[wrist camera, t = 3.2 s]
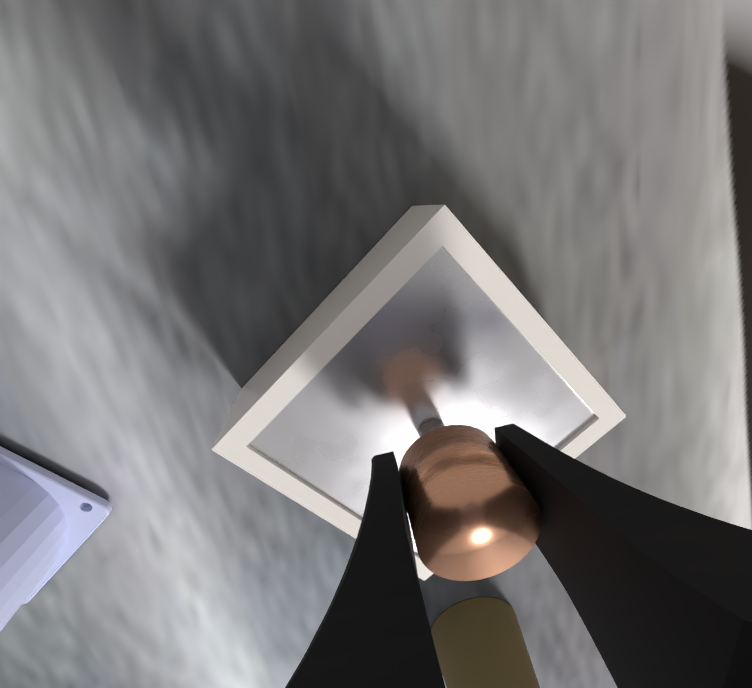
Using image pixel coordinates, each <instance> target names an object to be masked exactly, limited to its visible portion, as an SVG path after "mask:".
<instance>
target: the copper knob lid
mask: <svg viewBox="0 0 752 688" xmlns="http://www.w3.org/2000/svg"><path fill="white" fill-rule="evenodd" d="M595 417H596V415H595V414H594V413H593V412H592V411H591V410H590V409H589V408H588V406H587V405H586V404H585V403H584V402H583V401H582V400H581V399H580V398H579V397H578V395H577V394H576V393H575V392H574V391H573V390H572V389H571V388H570V387H569V386H568V384H567V383H566V382H565V381H564V380H563V379H562V378H561V377H560V376H559V375H558V373H557V372H556V371H555V370H554V369H553V368H552V367H551V366H550V365H549V363H548V362H547V361H546V360H545V359H544V358H543V357H542V356H541V355H540V354H539V352H538V351H537V350H536V349H535V348H534V347H533V346H532V345H531V344H530V343H529V341H528V340H527V339H526V338H525V337H524V336H523V335H522V334H521V333H520V332H519V330H518V329H517V328H516V327H515V326H514V325H513V324H512V323H511V322H510V320H509V319H508V318H507V317H506V316H505V315H504V314H503V313H502V312H501V311H500V309H499V308H498V307H497V306H496V305H495V304H494V303H493V302H492V301H491V300H490V298H489V297H488V296H487V295H486V294H485V293H484V292H483V291H482V290H481V289H480V287H479V286H478V285H477V284H476V283H475V282H474V281H473V280H472V279H471V277H470V276H469V275H468V274H467V273H466V272H465V271H464V270H463V269H462V268H461V266H460V265H459V264H458V263H457V262H456V261H455V260H454V259H453V258H452V257H451V255H450V254H449V253H448V252H447V251H446V250H445V249H444V248H443V247H441V248H440V249H439V250H438V251H437V252H436V253H435V254H434V255H433V256H432V257H431V258H430V259H429V260H428V261H427V262H426V263H425V264H424V265H423V266H422V267H421V268H420V269H419V270H418V271H417V272H416V273H415V274H414V275H413V276H412V277H411V278H410V279H409V280H408V281H407V282H406V283H405V284H404V285H403V287H402V288H401V289H400V290H399V291H398V292H397V293H396V294H395V295H394V296H393V297H392V298H391V299H390V300H389V301H388V302H387V303H386V304H385V305H384V306H383V307H382V308H381V309H380V310H379V311H378V312H377V313H376V314H375V315H374V316H373V317H372V318H371V319H370V320H369V321H368V322H367V323H366V324H365V325H364V326H363V327H362V329H361V330H360V331H359V332H358V333H357V334H356V335H355V336H354V337H353V338H352V339H351V340H350V341H349V342H348V343H347V344H346V345H345V346H344V347H343V348H342V349H341V350H340V351H339V352H338V353H337V354H336V355H335V356H334V357H333V358H332V359H331V360H330V361H329V362H328V363H327V364H326V365H325V366H324V367H323V368H322V369H321V371H320V372H319V373H318V374H317V375H316V376H315V377H314V378H313V379H312V380H311V381H310V382H309V383H308V384H307V385H306V386H305V387H304V388H303V389H302V390H301V391H300V392H299V393H298V394H297V395H296V396H295V397H294V398H293V399H292V400H291V401H290V402H289V403H288V404H287V405H286V406H285V407H284V408H283V409H282V410H281V411H280V413H279V414H278V415H277V416H276V417H275V418H274V419H273V420H272V421H271V422H270V423H269V424H268V425H267V426H266V427H265V428H264V429H263V430H262V431H261V432H260V433H259V434H258V435H257V436H256V437H255V438H254V439H253V440H252V441H251V442H250V443H249V444H248V445H249V446H251V447H252V448H254V449H255V450H257V451H258V452H260V453H261V454H263V455H265V456H266V457H268V458H269V459H271V460H272V461H274V462H275V463H277V464H278V465H280V466H282V467H283V468H285V469H286V470H288V471H289V472H291V473H292V474H294V475H295V476H297V477H299V478H300V479H302V480H303V481H305V482H306V483H308V484H309V485H311V486H312V487H314V488H316V489H317V490H319V491H320V492H322V493H323V494H325V495H326V496H328V497H329V498H331V499H333V500H334V501H336V502H337V503H339V504H340V505H342V506H343V507H345V508H346V509H348V510H350V511H351V512H353V513H354V514H356V515H357V516H359V517H360V518H362V517H363V514H364V510H365V505H366V500H367V496H368V491H369V485H370V478H371V467H372V462H371V459H372V458H373V457H374V456H375V455H379V454H383V453H388V452H392V451H393V452H394V455H395V458H396V462H397V465H398V469H399V474H400V479H401V484H402V489H403V494H404V500H405V505H406V509H407V514H408V519H409V524H410V529H411V534H412V540H413V547H414V553H416V554H418V555H419V558H420V560H421V561H422V563H423V564H424V565H425V567H426V568H427V569H428V570H430V571H431V572H433V573H434V574H436V575H438V576H440V577H443V578H446V579H450V580H456V581H474V580H480V579H484V578H488V577H491V576H494V575H497V574H499V573H501V572H503V571H505V570H507V569H509V568H510V567H512V566H513V565H515V564H516V563H518V562H519V561H520V560H521V559H522V558H523V557H524V556H525V555H526V554H527V553H528V552H529V551H530V550H531V548H532V547H533V546H534V544H535V542H536V541H537V538H538V536H539V534H540V530H541V525H542V514H541V510H540V507H539V505H538V503H537V502H536V500H535V499H534V497H533V496H532V494H531V493H530V492H529V490H528V489H527V487H526V486H525V485H524V483H523V482H522V480H521V479H520V478H519V476H518V475H517V473H516V472H515V471H514V469H513V468H512V466H511V465H510V463H509V462H508V461H507V459H506V458H505V456H504V455H503V454H502V452H501V451H500V449H499V448H498V447H497V445H496V444H495V430H494V428H495V427H499V426H504V425H508V424H512V423H513V424H515V425H517V426H519V427H520V428H522V429H524V430H525V431H527V432H529V433H531V434H532V435H534V436H536V437H537V438H539V439H541V440H542V441H544V442H546V443H547V444H549V445H551V446H553V447H554V448H556V449H558V448H559V447H560V446H561V445H563V444H564V443H565V442H566V441H567V440H569V439H570V438H571V437H572V436H573V435H575V434H576V433H577V432H578V431H579V430H581V429H582V428H583V427H584V426H586V425H587V424H588V423H589V422H590V421H592V420H593V419H594V418H595Z"/></svg>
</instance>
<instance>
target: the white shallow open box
mask: <svg viewBox="0 0 752 688" xmlns="http://www.w3.org/2000/svg"><path fill="white" fill-rule="evenodd" d="M441 247H443V248H444V249H445V250H446V251H447V252H448V253H449V254H450V255H451V257H452V258H453V259H454V260H455V261H456V262H457V263H458V264H459V265H460V266H461V268H462V269H463V270H464V271H465V272H466V273H467V274H468V275H469V276H470V277H471V279H472V280H473V281H474V282H475V283H476V284H477V285H478V286H479V287H480V289H481V290H482V291H483V292H484V293H485V294H486V295H487V296H488V297H489V298H490V300H491V301H492V302H493V303H494V304H495V305H496V306H497V307H498V308H499V309H500V311H501V312H502V313H503V314H504V315H505V316H506V317H507V318H508V319H509V320H510V322H511V323H512V324H513V325H514V326H515V327H516V328H517V329H518V330H519V332H520V333H521V334H522V335H523V336H524V337H525V338H526V339H527V340H528V341H529V343H530V344H531V345H532V346H533V347H534V348H535V349H536V350H537V351H538V352H539V354H540V355H541V356H542V357H543V358H544V359H545V360H546V361H547V362H548V363H549V365H550V366H551V367H552V368H553V369H554V370H555V371H556V372H557V373H558V375H559V376H560V377H561V378H562V379H563V380H564V381H565V382H566V383H567V384H568V386H569V387H570V388H571V389H572V390H573V391H574V392H575V393H576V394H577V395H578V397H579V398H580V399H581V400H582V401H583V402H584V403H585V404H586V405H587V406H588V408H589V409H590V410H591V411H592V412H593V413H594V414H595V415H596V417H595V418H594V419H593V420H592V421H590V422H589V423H588V424H587V425H586V426H584V427H583V428H582V429H581V430H579V431H578V432H577V433H576V434H575V435H573V436H572V437H571V438H570V439H569V440H567V441H566V442H565V443H564V444H563V445H561V446H560V447H559V448H558V450H560V451H561V452H563V453H565V454H567V455H568V456H570V457H572V458H574V459H575V458H576V457H577V456H579V455H580V454H581V453H582V452H583V451H585V450H586V449H587V448H588V447H590V446H591V445H592V444H593V443H594V442H596V441H597V440H598V439H599V438H601V437H602V436H603V435H604V434H606V433H607V432H608V431H609V430H610V429H612V428H613V427H614V426H615V425H617V424H618V423H619V422H620V421H622V420H623V419H624V418H625V417H626V415H625V414H624V413H623V412H622V411H621V409H620V408H619V407H618V406H617V405H616V404H615V402H614V401H613V400H612V399H611V398H610V397H609V395H608V394H607V393H606V392H605V391H604V390H603V388H602V387H601V386H600V385H599V384H598V383H597V381H596V380H595V379H594V378H593V377H592V376H591V374H590V373H589V372H588V371H587V370H586V369H585V367H584V366H583V365H582V364H581V363H580V362H579V360H578V359H577V358H576V357H575V356H574V355H573V353H572V352H571V351H570V350H569V349H568V348H567V346H566V345H565V344H564V343H563V342H562V341H561V339H560V338H559V337H558V336H557V335H556V334H555V332H554V331H553V330H552V329H551V328H550V327H549V325H548V324H547V323H546V322H545V321H544V320H543V318H542V317H541V316H540V315H539V314H538V313H537V311H536V310H535V309H534V308H533V307H532V306H531V304H530V303H529V302H528V301H527V300H526V299H525V297H524V296H523V295H522V294H521V293H520V292H519V290H518V289H517V288H516V287H515V286H514V285H513V283H512V282H511V281H510V280H509V279H508V278H507V276H506V275H505V274H504V273H503V272H502V271H501V269H500V268H499V267H498V266H497V265H496V264H495V263H494V261H493V260H492V259H491V258H490V257H489V256H488V254H487V253H486V252H485V251H484V250H483V249H482V247H481V246H480V245H479V244H478V243H477V242H476V240H475V239H474V238H473V237H472V236H471V235H470V233H469V232H468V231H467V230H466V229H465V228H464V226H463V225H462V224H461V223H460V222H459V221H458V219H457V218H456V217H455V216H454V215H453V214H452V212H451V211H450V210H449V209H448V208H447V207H446V205H422V206H411V207H410V208H409V210H408V211H407V212H406V213H405V214H404V215H403V216H402V217H401V218H400V219H399V220H398V221H397V222H396V223H395V225H394V226H393V227H392V228H391V229H390V230H389V231H388V232H387V233H386V234H385V235H384V236H383V237H382V238H381V240H380V241H379V242H378V243H377V244H376V245H375V246H374V247H373V248H372V249H371V250H370V251H369V252H368V253H367V255H366V256H365V257H364V258H363V259H362V260H361V261H360V262H359V263H358V264H357V265H356V266H355V267H354V268H353V270H352V271H351V272H350V273H349V274H348V275H347V276H346V277H345V278H344V279H343V280H342V281H341V282H340V283H339V285H338V286H337V287H336V288H335V289H334V290H333V291H332V292H331V293H330V294H329V295H328V296H327V297H326V298H325V300H324V301H323V302H322V303H321V304H320V305H319V306H318V307H317V308H316V309H315V310H314V311H313V312H312V314H311V315H310V316H309V317H308V318H307V319H306V320H305V321H304V322H303V323H302V324H301V325H300V326H299V327H298V329H297V330H296V331H295V332H294V333H293V334H292V335H291V336H290V337H289V338H288V339H287V340H286V341H285V342H284V344H283V345H282V346H281V347H280V348H279V349H278V350H277V351H276V352H275V353H274V354H273V355H272V356H271V357H270V359H269V360H268V361H267V362H266V363H265V364H264V365H263V366H262V367H261V368H260V369H259V370H258V371H257V372H256V374H255V375H254V376H253V377H252V378H251V379H250V380H249V381H248V382H247V383H246V384H245V385H244V386H243V387H242V389H241V390H240V392H239V394H238V396H237V398H236V400H235V402H234V404H233V407H232V409H231V411H230V413H229V415H228V417H227V419H226V421H225V423H224V425H223V427H222V429H221V431H220V433H219V435H218V437H217V439H216V441H215V443H214V445H213V447H212V449H211V450H213V451H214V452H216V453H218V454H219V455H221V456H222V457H224V458H226V459H227V460H229V461H231V462H232V463H234V464H235V465H237V466H239V467H240V468H242V469H244V470H245V471H247V472H248V473H250V474H252V475H253V476H255V477H257V478H258V479H260V480H261V481H263V482H265V483H266V484H268V485H269V486H271V487H273V488H274V489H276V490H278V491H279V492H281V493H282V494H284V495H286V496H287V497H289V498H291V499H292V500H294V501H295V502H297V503H299V504H300V505H302V506H304V507H305V508H307V509H308V510H310V511H312V512H313V513H315V514H316V515H318V516H320V517H321V518H323V519H325V520H326V521H328V522H329V523H331V524H333V525H334V526H336V527H338V528H339V529H341V530H342V531H344V532H346V533H347V534H349V535H351V536H352V537H354V538H355V539H356V538H357V535H358V531H359V528H360V524H361V521H362V518H360V517H359V516H357V515H356V514H354V513H353V512H351V511H350V510H348V509H346V508H345V507H343V506H342V505H340V504H339V503H337V502H336V501H334V500H333V499H331V498H329V497H328V496H326V495H325V494H323V493H322V492H320V491H319V490H317V489H316V488H314V487H312V486H311V485H309V484H308V483H306V482H305V481H303V480H302V479H300V478H299V477H297V476H295V475H294V474H292V473H291V472H289V471H288V470H286V469H285V468H283V467H282V466H280V465H278V464H277V463H275V462H274V461H272V460H271V459H269V458H268V457H266V456H265V455H263V454H261V453H260V452H258V451H257V450H255V449H254V448H252V447H251V446H249V445H248V444H249V443H250V442H251V441H252V440H253V439H254V438H255V437H256V436H257V435H258V434H259V433H260V432H261V431H262V430H263V429H264V428H265V427H266V426H267V425H268V424H269V423H270V422H271V421H272V420H273V419H274V418H275V417H276V416H277V415H278V414H279V413H280V411H281V410H282V409H283V408H284V407H285V406H286V405H287V404H288V403H289V402H290V401H291V400H292V399H293V398H294V397H295V396H296V395H297V394H298V393H299V392H300V391H301V390H302V389H303V388H304V387H305V386H306V385H307V384H308V383H309V382H310V381H311V380H312V379H313V378H314V377H315V376H316V375H317V374H318V373H319V372H320V371H321V369H322V368H323V367H324V366H325V365H326V364H327V363H328V362H329V361H330V360H331V359H332V358H333V357H334V356H335V355H336V354H337V353H338V352H339V351H340V350H341V349H342V348H343V347H344V346H345V345H346V344H347V343H348V342H349V341H350V340H351V339H352V338H353V337H354V336H355V335H356V334H357V333H358V332H359V331H360V330H361V329H362V327H363V326H364V325H365V324H366V323H367V322H368V321H369V320H370V319H371V318H372V317H373V316H374V315H375V314H376V313H377V312H378V311H379V310H380V309H381V308H382V307H383V306H384V305H385V304H386V303H387V302H388V301H389V300H390V299H391V298H392V297H393V296H394V295H395V294H396V293H397V292H398V291H399V290H400V289H401V288H402V287H403V285H404V284H405V283H406V282H407V281H408V280H409V279H410V278H411V277H412V276H413V275H414V274H415V273H416V272H417V271H418V270H419V269H420V268H421V267H422V266H423V265H424V264H425V263H426V262H427V261H428V260H429V259H430V258H431V257H432V256H433V255H434V254H435V253H436V252H437V251H438V250H439V249H440V248H441ZM415 560H416V566H417V573H418V577H419V578H420V579H422V580H423V581H425V580H426V579H427V578H429V577H430V576H431V575H432V574H434V573H433V572H431V571H430V570H428V569H427V568H426V567H425V565H424V564H423V563H422V561H421V560H420V558H419V555H418V554H416V553H415Z"/></svg>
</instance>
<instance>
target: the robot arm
mask: <svg viewBox="0 0 752 688" xmlns="http://www.w3.org/2000/svg"><path fill="white" fill-rule="evenodd" d="M494 430H495V444H496V445H497V447H498V448H499V449H500V451H501V452H502V454H503V455H504V456H505V458H506V459H507V461H508V462H509V463H510V465H511V466H512V468H513V469H514V471H515V472H516V473H517V475H518V476H519V478H520V479H521V480H522V482H523V483H524V485H525V486H526V487H527V489H528V490H529V492H530V493H531V494H532V496H533V497H534V499H535V500H536V502H537V503H538V505H539V507H540V510H541V514H542V525H541V530H540V534H539V536H538V538H537V541H536V542H535V543H536V545H537V546H538V548H539V549H540V551H541V552H542V554H543V555H544V557H545V558H546V560H547V561H548V563H549V564H550V566H551V567H552V569H553V571H554V572H555V574H556V575H557V577H558V578H559V580H560V581H561V583H562V585H563V586H564V588H565V590H566V591H567V593H568V595H569V596H570V598H571V600H572V602H573V604H574V606H575V607H576V609H577V611H578V613H579V615H580V617H581V618H582V620H583V622H584V624H585V626H586V628H587V630H588V631H589V633H590V635H591V637H592V639H593V641H594V643H595V645H596V647H597V648H598V650H599V652H600V654H601V656H602V658H603V660H604V662H605V664H606V666H607V668H608V670H609V671H610V673H611V675H612V677H613V679H614V681H615V683H616V685H617V687H618V688H752V530H750V529H746V528H743V527H740V526H736V525H733V524H730V523H727V522H724V521H721V520H718V519H714V518H711V517H708V516H706V515H703V514H700V513H697V512H694V511H692V510H689V509H686V508H683V507H680V506H678V505H675V504H672V503H670V502H667V501H664V500H662V499H659V498H657V497H654V496H652V495H650V494H647V493H645V492H643V491H640V490H638V489H635V488H633V487H631V486H628V485H626V484H624V483H622V482H620V481H617V480H615V479H613V478H611V477H609V476H607V475H605V474H603V473H601V472H599V471H597V470H595V469H593V468H591V467H589V466H587V465H585V464H583V463H581V462H580V461H578V460H576V459H574V458H572V457H570V456H568V455H567V454H565V453H563V452H561V451H560V450H558V449H556V448H554V447H553V446H551V445H549V444H547V443H546V442H544V441H542V440H541V439H539V438H537V437H536V436H534V435H532V434H531V433H529V432H527V431H525V430H524V429H522V428H520V427H519V426H517V425H515V424H513V423H512V424H508V425H504V426H499V427H495V428H494ZM371 462H372V467H371V478H370V485H369V491H368V496H367V500H366V505H365V510H364V514H363V517H362V521H361V524H360V528H359V531H358V535H357V538H356V541H355V544H354V547H353V550H352V553H351V556H350V559H349V561H348V564H347V567H346V569H345V572H344V574H343V577H342V579H341V581H340V584H339V586H338V588H337V591H336V593H335V596H334V598H333V600H332V602H331V604H330V606H329V609H328V611H327V613H326V615H325V617H324V619H323V621H322V623H321V625H320V626H319V628H318V630H317V632H316V634H315V636H314V638H313V640H312V642H311V644H310V646H309V648H308V650H307V652H306V653H305V655H304V657H303V659H302V660H301V662H300V664H299V666H298V667H297V669H296V671H295V672H294V674H293V676H292V677H291V679H290V681H289V682H288V684H287V686H286V687H285V688H445V684H444V680H443V677H442V673H441V669H440V665H439V661H438V657H437V653H436V649H435V645H434V641H433V637H432V633H431V629H430V625H429V621H428V618H427V614H426V610H425V606H424V602H423V598H422V594H421V590H420V586H419V580H418V573H417V566H416V560H415V553H414V547H413V540H412V534H411V529H410V524H409V519H408V514H407V509H406V505H405V500H404V494H403V489H402V484H401V479H400V474H399V469H398V465H397V462H396V458H395V455H394V452H393V451H392V452H388V453H383V454H379V455H375V456H374V457H373V458H372V459H371ZM87 503H88V504H90V505H88V504H87ZM111 510H112V505H111V503H110V502H109V501H107V500H105V499H104V498H102V497H100V496H98V495H96V494H94V493H92V492H90V491H88V490H86V489H84V488H82V487H80V486H78V485H76V484H74V483H72V482H70V481H68V480H66V479H64V478H62V477H60V476H58V475H56V474H54V473H52V472H50V471H48V470H46V469H44V468H42V467H40V466H38V465H36V464H34V463H33V462H31V461H29V460H27V459H25V458H23V457H21V456H19V455H17V454H15V453H13V452H11V451H9V450H7V449H5V448H3V447H1V446H0V631H1V630H2V629H3V628H4V626H5V625H6V624H7V622H8V621H9V620H10V619H11V617H12V616H13V615H14V613H15V612H16V611H17V610H18V608H19V607H20V606H21V605H22V604H25V603H27V602H29V601H30V600H31V599H32V598H33V596H34V595H35V594H36V593H37V592H38V591H39V590H40V589H41V588H42V587H43V586H44V584H45V583H46V582H47V581H48V580H49V579H50V578H51V577H52V576H53V575H54V574H55V573H56V571H57V570H58V569H59V568H60V567H61V566H62V565H63V564H64V563H65V562H66V561H67V560H68V558H69V557H70V556H71V555H72V554H73V553H74V552H75V551H76V550H77V549H78V548H79V546H80V545H81V544H82V543H83V542H84V541H85V540H86V539H87V538H88V537H89V536H90V535H91V533H92V532H93V531H94V530H95V529H96V528H97V527H98V526H99V525H100V524H101V523H102V522H103V520H104V519H105V518H106V517H107V516H108V515H109V513H110V512H111Z"/></svg>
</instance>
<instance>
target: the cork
mask: <svg viewBox="0 0 752 688" xmlns="http://www.w3.org/2000/svg"><path fill="white" fill-rule="evenodd" d="M431 633H432V637H433V641H434V645H435V649H436V653H437V657H438V661H439V665H440V669H441V672H442V675H443V678H444V680H445V683H446V686H447V688H540V687H539V684H538V681H537V678H536V675H535V672H534V668H533V665H532V662H531V659H530V656H529V653H528V650H527V647H526V644H525V641H524V638H523V635H522V632H521V629H520V626H519V623H518V620H517V617H516V614H515V612H514V610H513V608H512V606H510V605H509V604H508V603H506V602H505V601H503V600H500V599H497V598H493V597H478V598H473V599H468V600H464V601H462V602H460V603H458V604H455V605H453V606H451V607H450V608H448V609H447V610H446V611H444V612H443V613H442V614H440V616H439V617H438V618H437V619H436V621H435V622H434V623H433V625H432V628H431Z"/></svg>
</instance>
